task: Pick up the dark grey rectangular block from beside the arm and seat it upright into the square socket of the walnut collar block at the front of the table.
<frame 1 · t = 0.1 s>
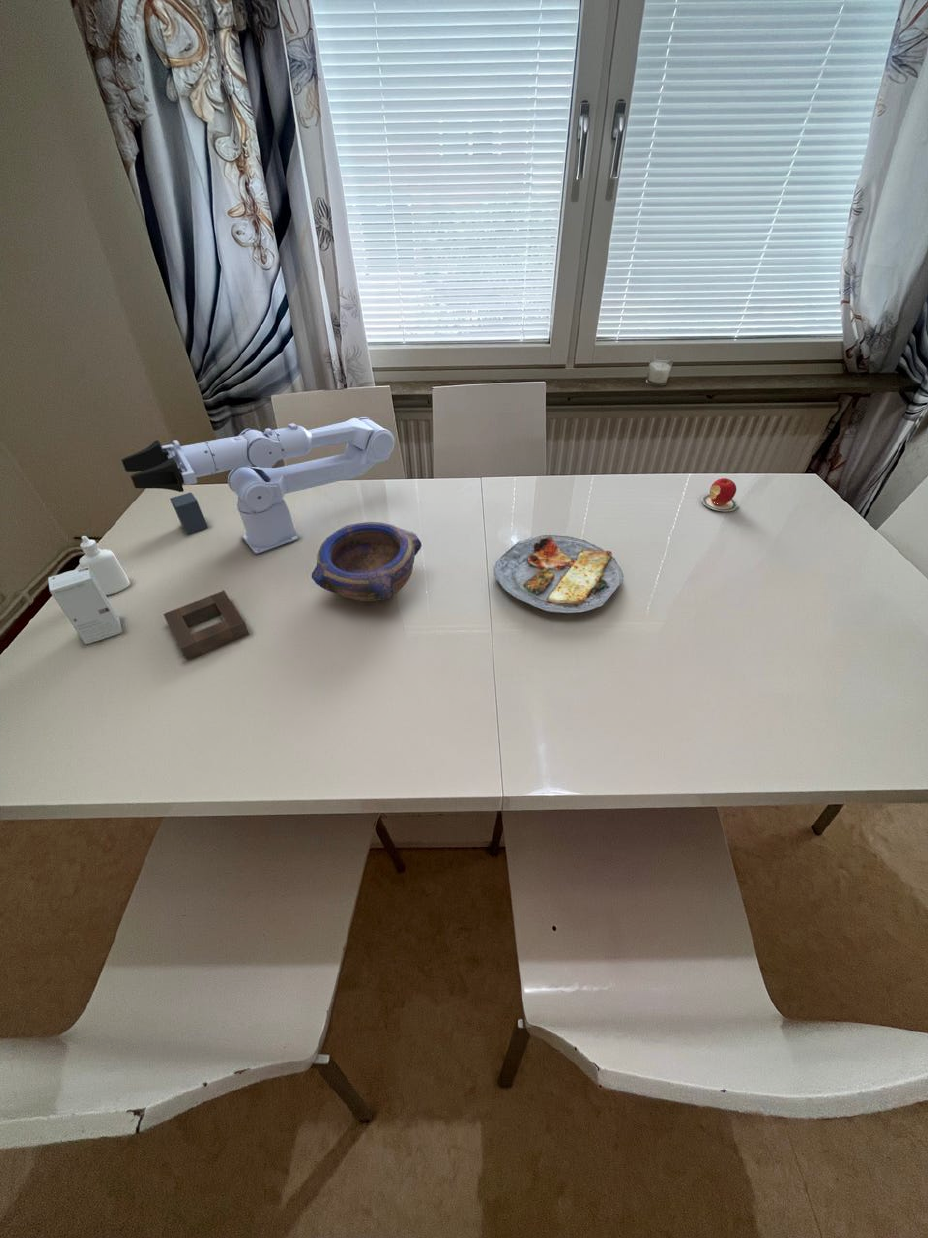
hand: (128, 473, 89), 22 cm above the table, tool horizontal, fingers open, 7 cm apart
apple: (718, 504, 123), on the table
food plate: (557, 579, 102), on the table
eye dropper bottle: (115, 589, 100), on the table
dark grey rectangular block: (195, 526, 116), on the table
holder: (209, 630, 92), on the table
bowl: (371, 588, 100), on the table
cosmetic box: (104, 632, 91), on the table
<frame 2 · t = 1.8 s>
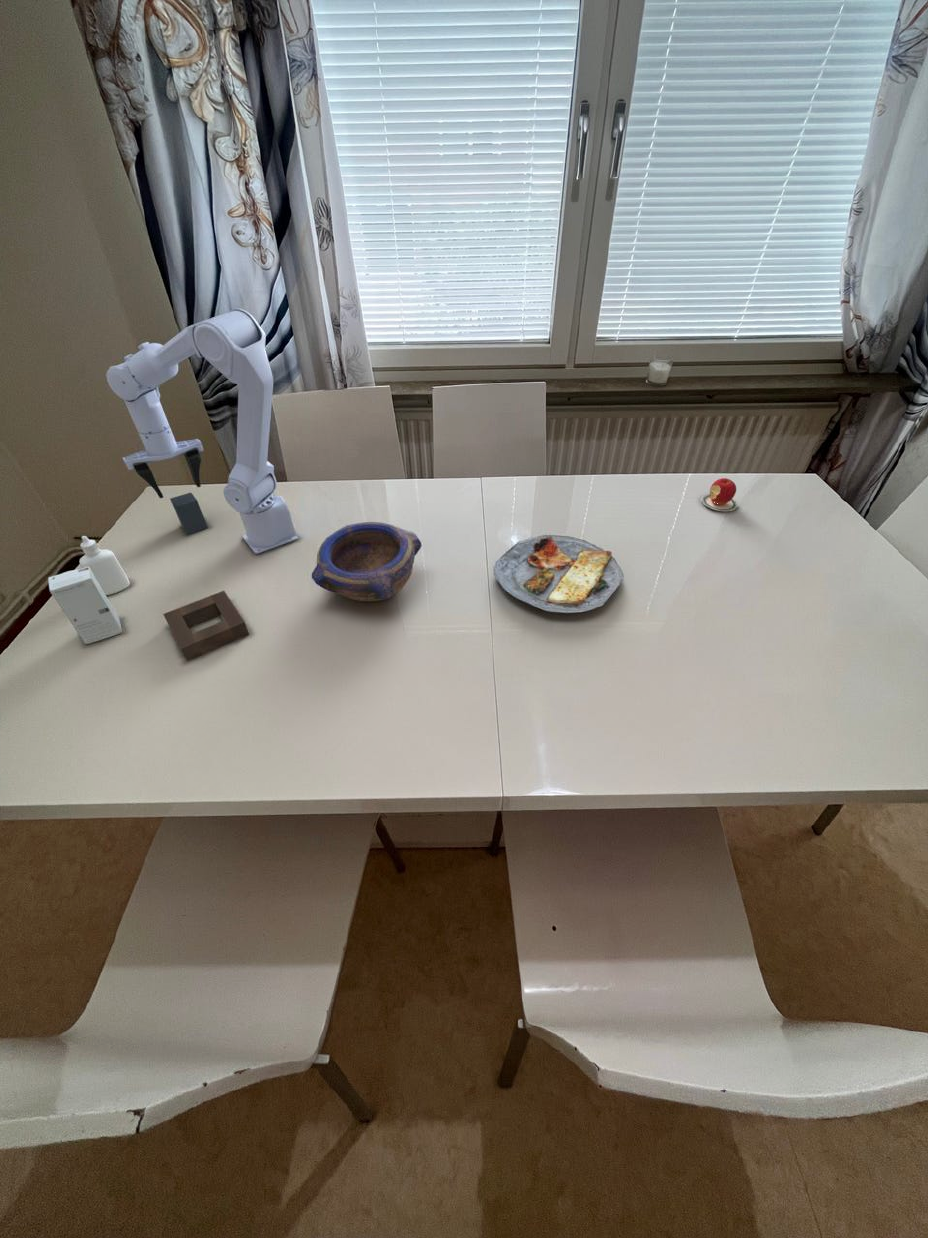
hand: (179, 490, 110), 9 cm above the table, tool pointing down, fingers open, 7 cm apart
nothing on the table moved.
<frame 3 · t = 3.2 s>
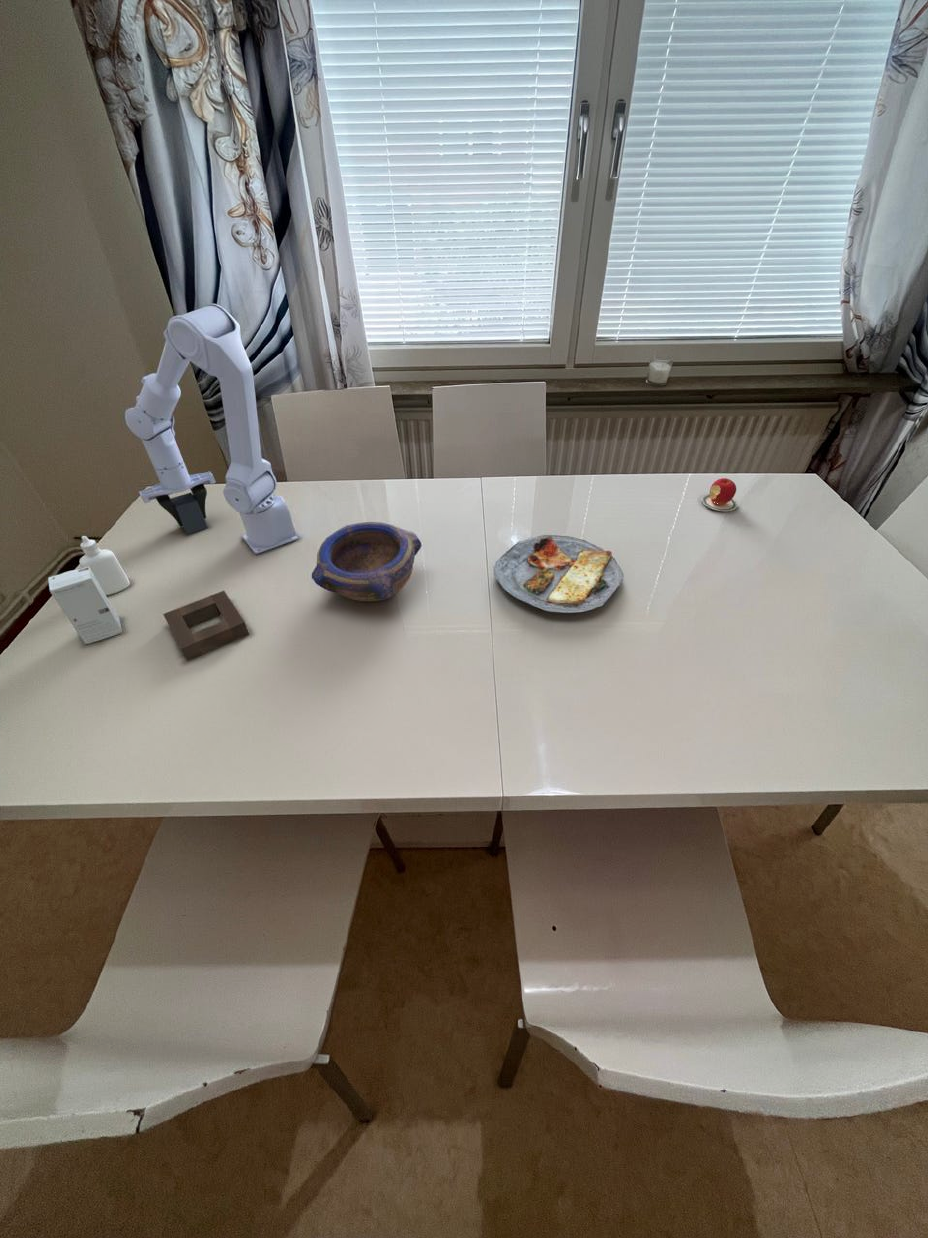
hand: (192, 520, 115), 2 cm above the table, tool pointing down, fingers closed on dark grey rectangular block, 4 cm apart
dark grey rectangular block: (194, 526, 116), on the table, touching gripper
everything else where it was.
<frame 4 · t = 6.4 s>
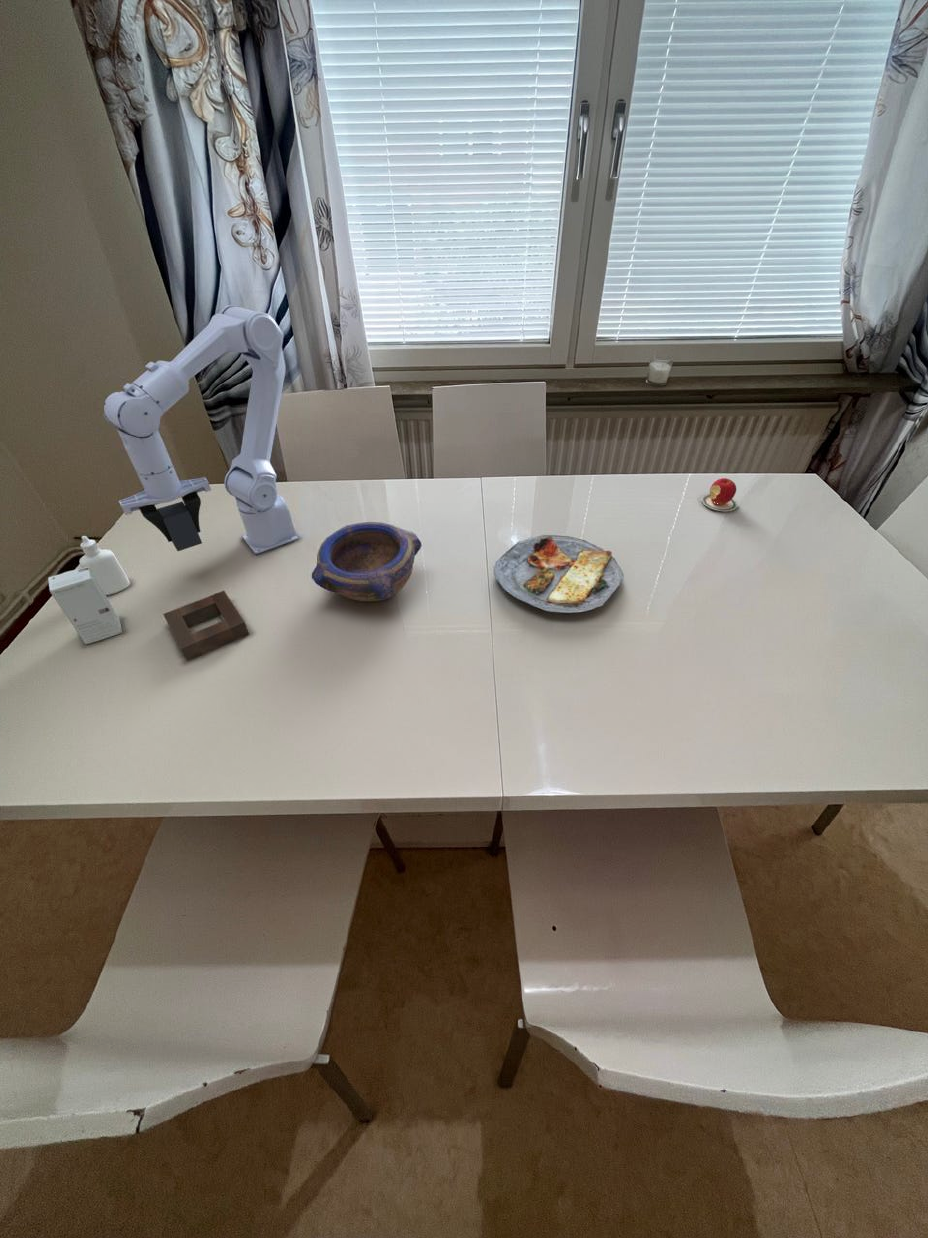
hand: (183, 534, 97), 9 cm above the table, tool pointing down, fingers closed on dark grey rectangular block, 4 cm apart
dark grey rectangular block: (186, 542, 98), point 8 cm above the table, touching gripper
everything else where it was.
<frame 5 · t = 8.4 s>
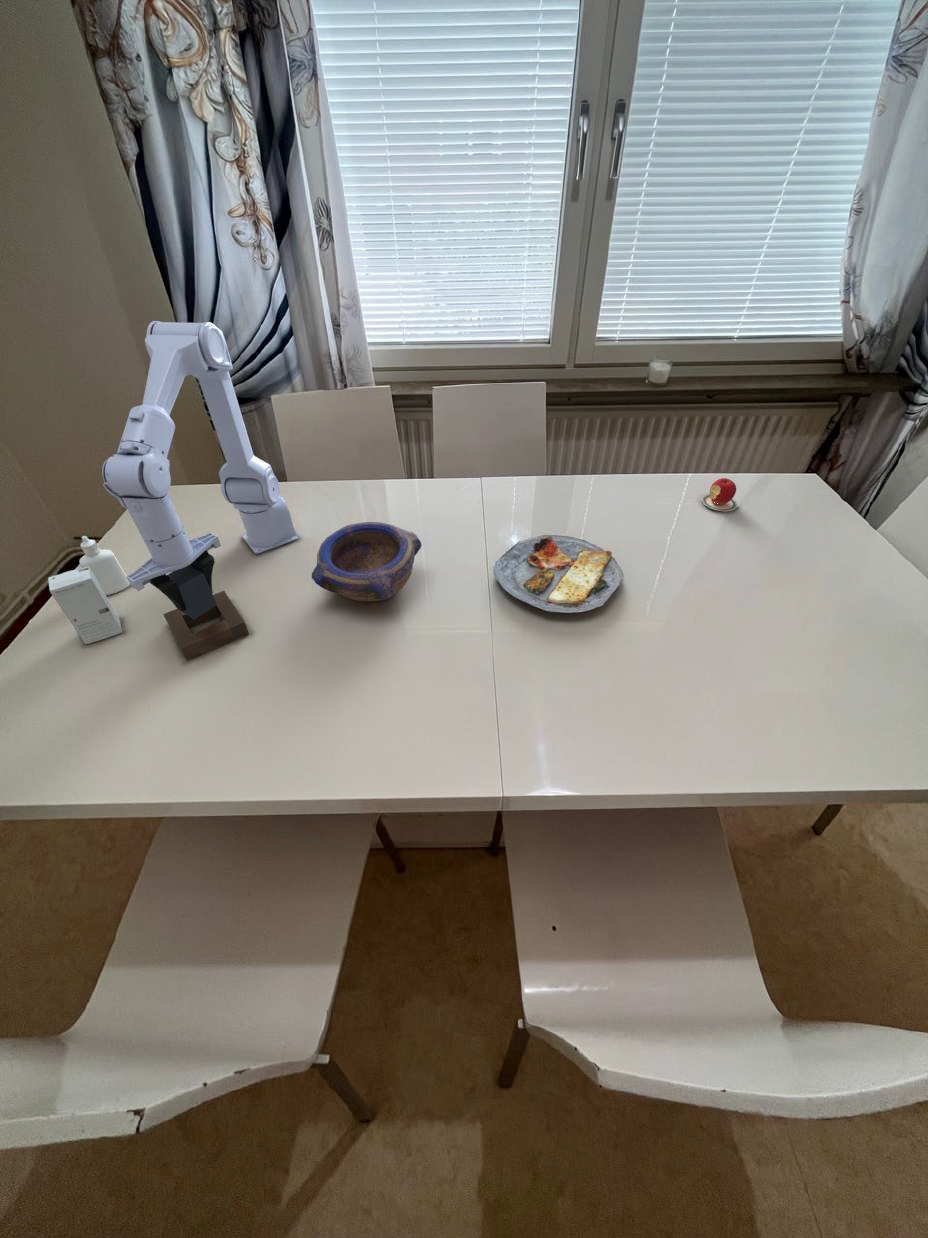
hand: (194, 599, 87), 7 cm above the table, tool pointing down, fingers closed on dark grey rectangular block, 4 cm apart
dark grey rectangular block: (198, 607, 88), point 5 cm above the table, touching gripper
everything else where it was.
when the fingers open (3 cm above the table, at t = 9.8 s): dark grey rectangular block drops 3 cm, resting in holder.
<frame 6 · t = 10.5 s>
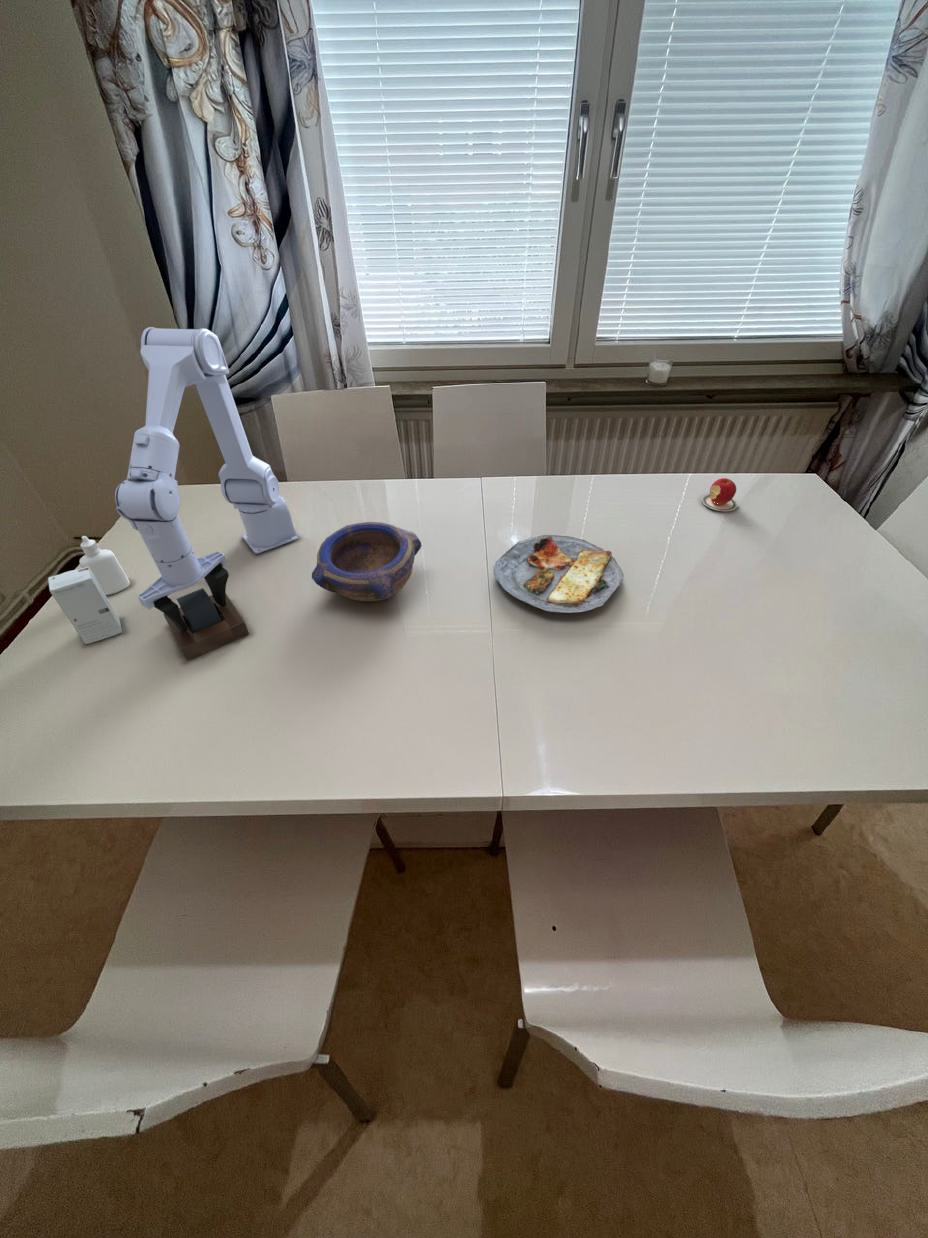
hand: (202, 616, 89), 3 cm above the table, tool pointing down, fingers open, 7 cm apart
dark grey rectangular block: (208, 629, 92), resting in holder
everything else where it was.
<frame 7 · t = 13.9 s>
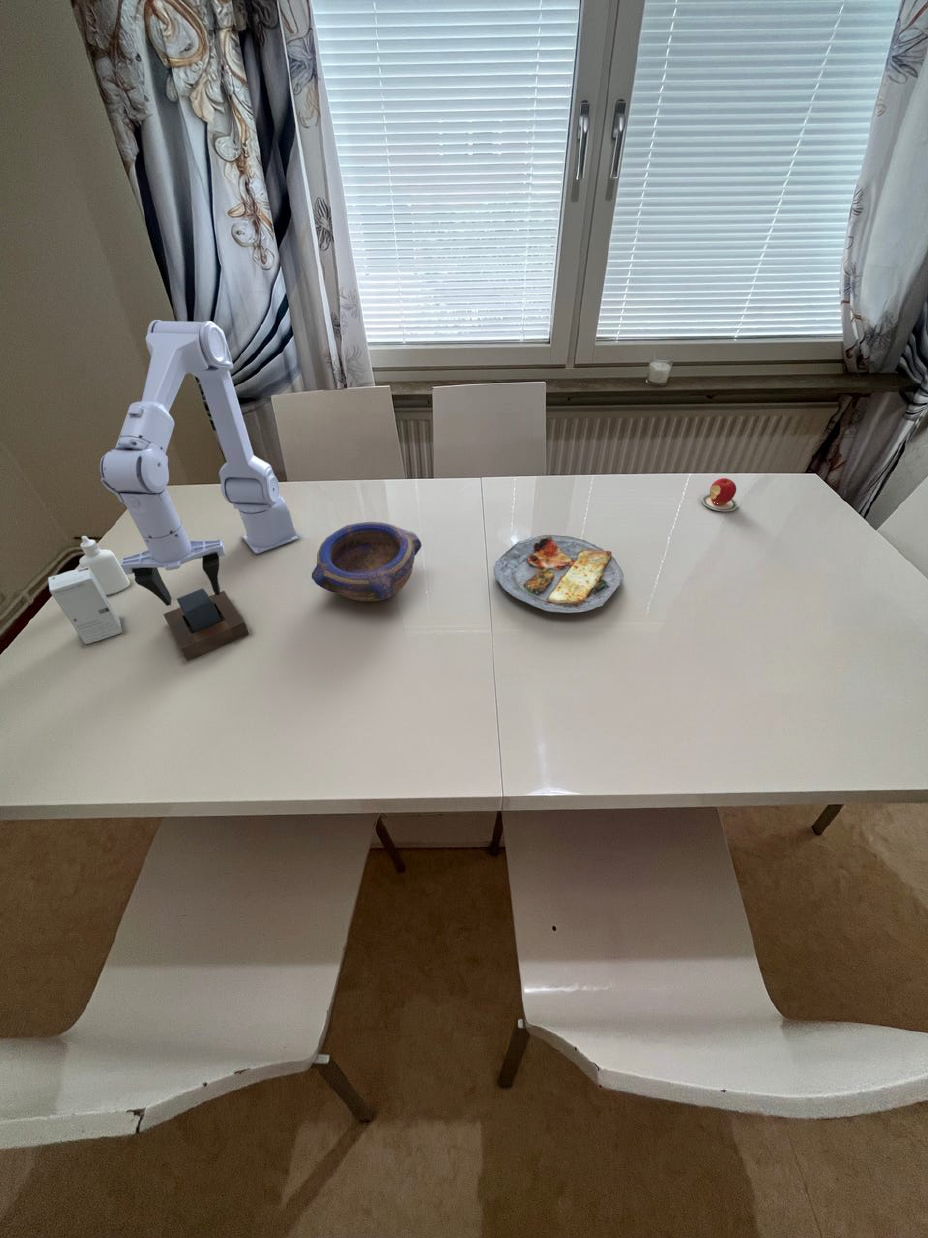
hand: (193, 596, 86), 8 cm above the table, tool pointing down, fingers open, 7 cm apart
nothing on the table moved.
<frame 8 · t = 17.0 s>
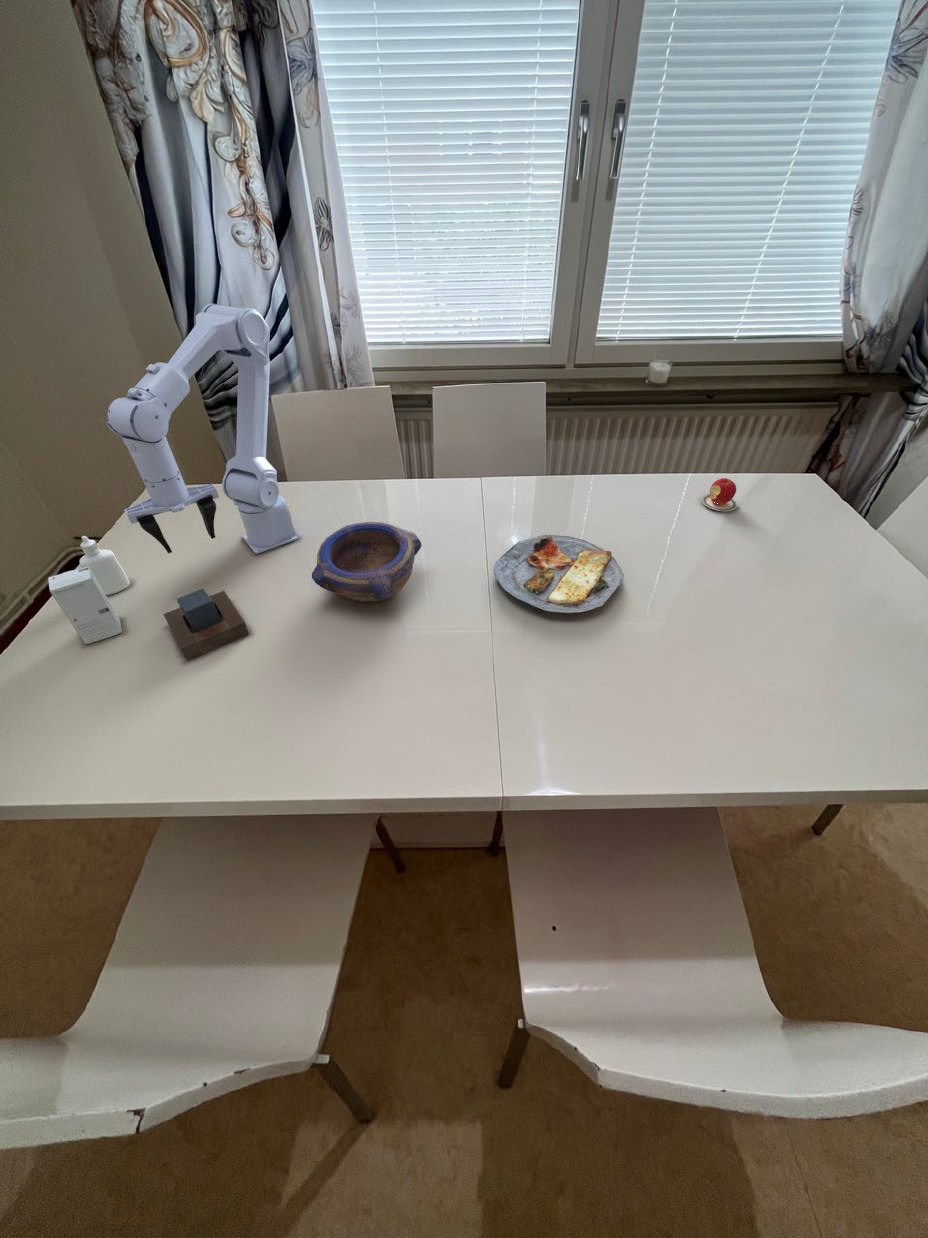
hand: (190, 542, 94), 10 cm above the table, tool pointing down, fingers open, 7 cm apart
nothing on the table moved.
at the end: dark grey rectangular block 0.3 cm off-centre on the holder, point 0.0 cm above the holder's base; dark grey rectangular block tilted 0°; the gripper is holding nothing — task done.
